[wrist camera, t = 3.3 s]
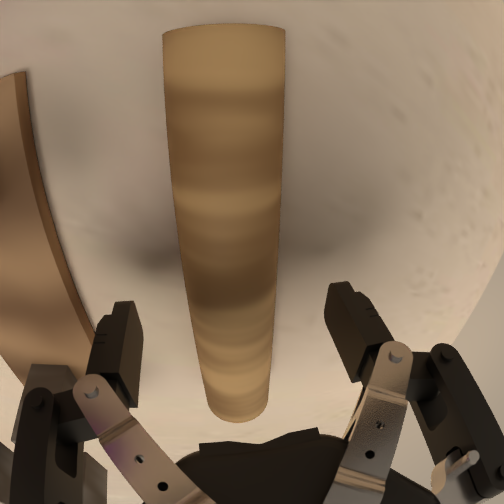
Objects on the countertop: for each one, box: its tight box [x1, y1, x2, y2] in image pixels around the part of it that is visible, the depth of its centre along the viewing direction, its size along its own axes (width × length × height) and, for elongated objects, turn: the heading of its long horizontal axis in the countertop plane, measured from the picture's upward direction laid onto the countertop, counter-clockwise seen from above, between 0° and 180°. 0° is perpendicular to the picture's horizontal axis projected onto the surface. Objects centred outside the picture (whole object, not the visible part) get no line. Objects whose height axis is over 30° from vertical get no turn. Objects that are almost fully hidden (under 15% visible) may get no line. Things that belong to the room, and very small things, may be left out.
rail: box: [162, 24, 285, 423], centre depth 14 cm, size 20×4×4 cm, turn 0°
